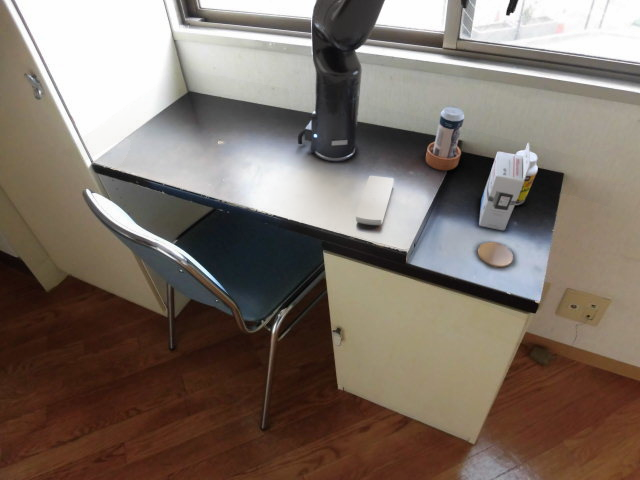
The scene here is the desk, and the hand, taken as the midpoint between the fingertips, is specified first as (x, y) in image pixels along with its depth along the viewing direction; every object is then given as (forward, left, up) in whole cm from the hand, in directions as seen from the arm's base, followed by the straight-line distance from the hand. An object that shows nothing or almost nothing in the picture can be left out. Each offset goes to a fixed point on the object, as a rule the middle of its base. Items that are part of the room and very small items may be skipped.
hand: (485, 9), depth 93 cm
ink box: (+11, -26, -29) cm, 41 cm away
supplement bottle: (+14, -19, -29) cm, 38 cm away
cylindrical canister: (-1, -11, -29) cm, 31 cm away
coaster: (+13, -37, -29) cm, 49 cm away
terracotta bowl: (-1, -11, -29) cm, 31 cm away
